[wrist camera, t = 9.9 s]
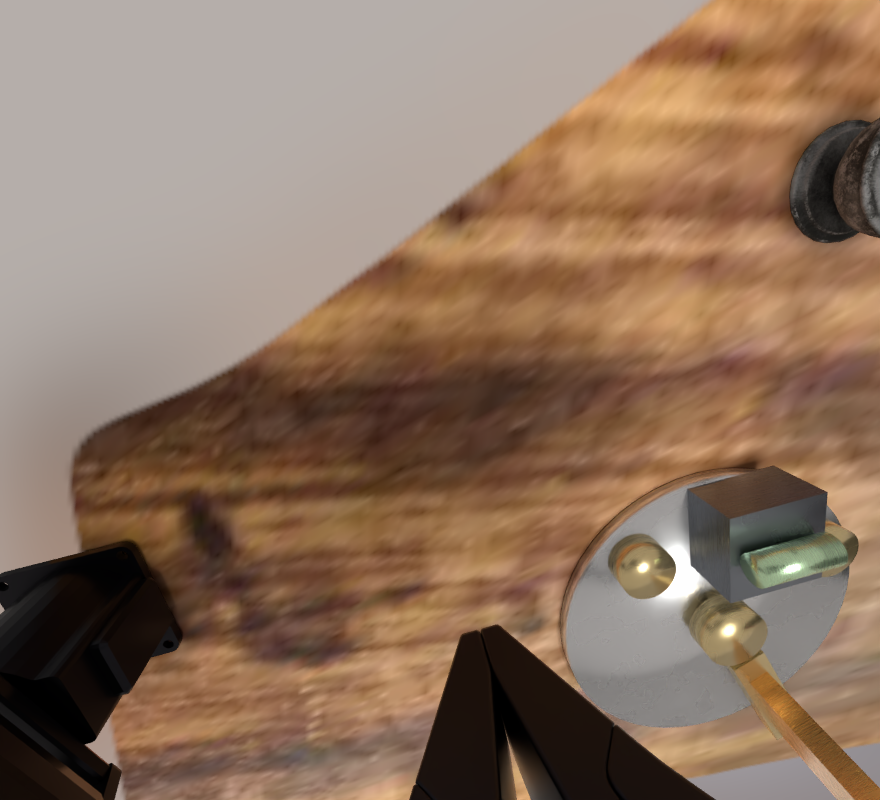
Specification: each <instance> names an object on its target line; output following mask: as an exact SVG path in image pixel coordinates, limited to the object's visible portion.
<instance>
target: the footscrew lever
mask: <svg viewBox="0 0 880 800" xmlns="http://www.w3.org/2000/svg"><path fill="white" fill-rule="evenodd" d="M689 631H690V634H691V636H692V637H693V639H694V640H695V641H696V642H697V643H698V645H699V646H700V647H701V648H702V649H703V650H704V652H705V653H706V654H707V655H708V656H709V657H710V659H711V660H712V661H713V662H715V663H716V664H719V665H722V666H727V667H728V669H729V671H730V672H731V674H732V675H733V677H734V678H735V680H736V682H737V683H738V685H739V686H740V688H741V690H742V691H743V693H744V694H745V696H746V698H747V699H748V701H749V702H750V704H751V705H752V707H753V709H754V710H755V712H756V713H757V715H758V717H759V718H760V720H761V721H762V723H763V724H764V725H765V726H766V727H767V728H768V730H769V731H770V732H771V733H772V734H773V736H774V737H775V738H776V739H777V740H779V739H780V738H782V737H783V738H784V739H785V740H786V741H787V742H788V743H789V744H790V746H791V747H792V748H793V749H794V750H795V751H796V753H797V754H798V755H799V756H800V757H801V758H802V760H803V761H804V762H805V763H806V764H807V765H808V766H809V768H810V769H811V770H812V771H813V772H814V773H815V775H816V776H817V777H818V778H819V779H820V780H821V782H822V783H823V784H824V785H825V786H826V787H827V788H828V789H829V791H830V792H831V793H832V794H833V795H834V796H835V798H837V800H880V788H879V787H878V786H877V785H876V784H875V783H874V782H873V781H872V780H871V779H870V778H869V777H868V776H867V775H866V774H865V773H864V772H863V770H861V768H860V767H859V766H858V765H857V764H856V763H855V762H854V761H853V760H852V759H851V758H850V757H849V756H848V755H847V754H846V753H845V752H844V751H843V750H842V749H841V748H840V747H839V746H838V745H837V744H836V742H835V741H834V740H833V739H832V738H831V737H830V736H829V735H828V734H827V733H826V732H825V731H824V730H823V729H822V728H821V727H820V726H819V725H818V724H817V723H816V722H815V721H814V720H813V719H812V718H811V717H810V716H809V715H808V713H807V712H806V711H805V710H804V709H803V708H802V707H801V706H800V705H799V704H798V703H797V702H796V701H795V700H794V699H793V698H792V697H791V696H790V695H789V694H788V693H787V691H786V690H785V688H784V686H783V685H782V683H781V681H780V679H779V678H778V676H777V674H776V672H775V671H774V669H773V667H772V665H771V664H770V662H769V660H768V659H767V657H766V655H765V653H764V652H763V651H762V650H761V648H762V646H763V645H764V643H765V641H766V638H767V633H768V628H767V624H766V622H765V621H764V620H763V619H762V618H761V617H760V616H759V615H758V614H757V613H756V612H755V611H754V610H753V609H751V608H750V607H749V606H748V605H747V604H746V603H745V602H744V601H743V600H741V601H737V602H734V603H730V602H729V601H728V600H727V599H726V598H724V597H723V596H722V595H721V594H720V595H716V596H714V597H711V598H709V599H708V600H706V601H704V602H703V603H702V604H701V605H700V606H699V607H698V608H697V609H696V610H695V611H694V613H693V615H692V617H691V619H690V623H689Z"/></svg>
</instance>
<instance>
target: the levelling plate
mask: <svg viewBox="0 0 880 800" xmlns="http://www.w3.org/2000/svg"><path fill="white" fill-rule="evenodd" d="M827 493H828V492H826V491H824V490H822V489H820V488H818V487H816V486H814V485H812V484H810V483H808V482H806V481H804V480H801V479H799V478H797V477H795V476H793V475H791V474H789V473H787V472H785V471H783V470H781V469H779V468H777V467H775V466H771V467H767V468H763V469H759V470H755V469H745V468H726V469H714V470H709V471H704V472H700V473H695V474H692V475H689V476H686V477H683V478H680V479H677V480H674V481H672V482H670V483H668V484H665V485H663V486H661V487H659V488H657V489H655V490H653V491H651V492H650V493H648V494H646V495H645V496H643V497H641V498H640V499H638V500H637V501H635V502H634V503H633V504H631V505H630V506H629V507H627V508H626V509H625V510H623V511H622V512H621V513H620V514H618V515H617V516H616V517H615V518H614V519H613V520H612V521H611V522H610V523H609V524H608V525H607V526H606V527H605V528H604V529H603V530H602V531H601V532H600V533H599V535H598V536H597V537H596V538H595V539H594V540H593V541H592V543H591V544H590V546H589V547H588V549H587V550H586V551H585V553H584V554H583V556H582V557H581V559H580V561H579V562H578V564H577V566H576V568H575V570H574V572H573V574H572V576H571V579H570V581H569V584H568V587H567V589H566V592H565V596H564V600H563V605H562V609H561V622H560V629H561V641H562V645H563V649H564V653H565V656H566V658H567V661H568V663H569V665H570V667H571V669H572V672H573V674H574V676H575V678H576V680H577V682H578V684H579V685H580V686H581V688H582V689H583V691H584V692H585V694H586V695H587V696H588V697H589V698H590V699H591V700H592V701H593V702H594V703H595V704H596V705H597V706H599V707H600V708H602V709H603V710H604V711H606V712H607V713H609V714H611V715H613V716H615V717H617V718H619V719H621V720H624V721H627V722H630V723H633V724H638V725H643V726H649V727H663V728H668V727H684V726H690V725H697V724H701V723H705V722H709V721H713V720H716V719H719V718H722V717H725V716H727V715H730V714H733V713H735V712H737V711H739V710H741V709H744V708H746V707H748V706H750V705H751V704H750V702H749V701H748V699H747V698H746V696H745V694H744V693H743V691H742V690H741V688H740V686H739V685H738V683H737V682H736V680H735V678H734V677H733V675H732V674H731V672H730V671H729V669H728V667H727V666H722V665H719V664H716V663H715V662H713V661H712V660H711V659H710V657H709V656H708V655H707V654H706V653H705V652H704V650H703V649H702V648H701V647H700V646H699V645H698V643H697V642H696V641H695V640H694V639H693V637H692V636H691V634H690V631H689V623H690V619H691V617H692V615H693V613H694V611H695V610H696V609H697V608H698V607H699V606H700V605H701V604H702V603H703V602H704V601H706V600H708V599H709V598H711V597H714V596H716V595H720V594H721V595H722V596H723V597H724V598H726V599H727V600H728V601H729V602H730V603H734V602H737V601H741V600H743V601H744V602H745V603H746V604H747V605H748V606H749V607H750V608H751V609H753V610H754V611H755V612H756V613H757V614H758V615H759V616H760V617H761V618H762V619H763V620H764V621H765V622H766V624H767V628H768V633H767V638H766V641H765V643H764V645H763V646H762V648H761V650H762V651H763V652H764V653H765V655H766V657H767V659H768V660H769V662H770V664H771V665H772V667H773V669H774V671H775V672H776V674H777V676H778V678H779V679H780V681H781V683H782V684H783V683H784V682H785V681H787V680H788V679H789V678H790V677H792V676H793V675H794V674H795V673H796V672H797V671H798V670H799V669H800V668H801V667H802V666H803V665H804V664H805V663H806V662H807V661H808V659H809V658H810V657H811V656H812V655H813V654H814V652H815V651H816V650H817V649H818V647H819V646H820V644H821V643H822V642H823V640H824V639H825V637H826V636H827V634H828V632H829V631H830V629H831V627H832V625H833V624H834V622H835V620H836V618H837V615H838V613H839V611H840V608H841V606H842V603H843V600H844V596H845V593H846V590H847V584H848V577H849V565H850V564H851V562H852V561H853V560H854V558H855V556H856V554H857V551H858V539H857V537H856V536H855V534H853V533H852V532H850V531H849V530H847V529H845V528H843V527H841V525H840V523H839V521H838V519H837V517H836V516H835V514H834V513H833V512H832V511H831V509H830V508H829V507H828V506H827Z"/></svg>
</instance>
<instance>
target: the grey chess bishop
mask: <svg viewBox="0 0 880 800" xmlns="http://www.w3.org/2000/svg"><path fill="white" fill-rule="evenodd" d="M790 205H791V213H792V215H793V218H794V221H795V223H796V225H797V226H798V228H799V229H800V230H801V231H802V233H803V234H804V235H806V236H807V237H809V238H811V239H812V240H814V241H818V242H823V243H831V242H840V241H843V240H845V239H848V238H850V237H853V236H854V235H856V234H857V233H859V232H861V233H864V234H867V235H869V236H873V237H878V238H880V118H878V119H877V120H876V121H874V122H873V123H870V122H866V121H862V120H852V121H845V122H842V123H840V124H837V125H835V126H832V127H830V128H828V129H827V130H826V131H824V132H823V133H822V134H820V135H819V136H817V137H816V139H815V140H814V141H813V142H812V143H811V144H810V145H809V146H808V148H807V149H806V150H805V152H804V154H803V155H802V157H801V159H800V160H799V162H798V164H797V166H796V169H795V172H794V175H793V178H792V182H791V190H790Z"/></svg>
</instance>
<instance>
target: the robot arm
mask: <svg viewBox="0 0 880 800" xmlns="http://www.w3.org/2000/svg"><path fill="white" fill-rule="evenodd" d="M121 551H124V552H126V553H127V554H128V555H124V554H123V553H122V552H121ZM5 583H7V584H8V585H7V584H5ZM0 603H1V605H2V607H3V608H4V610H5V611H4V612H3V613H1V614H0V800H114V799H115V795H116V792H117V788H118V784H119V780H120V777H121V773H122V771H121V770H120V769H119V768H118V767H116V766H115V765H114V764H112V763H110V764H107V763H106V762H105V761H104V760H103V759H101V758H100V757H99V756H98V755H97V754H95V753H94V752H93V751H92V750H91V749H89V748H88V747H87V746H86V745H85V744H88V743H91V742H93V741H95V740H96V738H97V736H98V735H99V733H100V731H101V730H102V728H103V727H104V725H105V723H106V722H107V720H108V718H109V717H110V715H111V713H112V712H113V710H114V708H115V707H116V705H117V704H118V702H119V700H120V699H121V697H122V695H124V694H128V693H129V692H130V691H131V690H132V688H133V686H134V685H135V683H136V681H137V680H138V678H139V676H140V675H141V673H142V671H143V670H144V668H145V666H146V665H147V663H148V661H149V660H150V658H151V657H155V656H158V655H162V654H166V653H169V652H173V651H175V650H176V649H177V648H178V647H179V645H180V643H181V641H182V635H181V633H180V631H179V629H178V627H177V625H176V623H175V621H174V619H173V616H172V614H171V612H170V610H169V608H168V606H167V604H166V602H165V600H164V598H163V596H162V594H161V592H160V590H159V588H158V586H157V584H156V582H155V581H154V580H153V578H152V576H151V574H150V572H149V570H148V568H147V566H146V564H145V562H144V560H143V558H142V556H141V554H140V552H139V550H138V548H137V547H136V546H135V545H134V544H133V543H130V542H121V543H117V544H113V545H109V546H105V547H101V548H97V549H93V550H89V551H86V552H82V553H78V554H74V555H70V556H66V557H62V558H58V559H54V560H50V561H46V562H42V563H38V564H34V565H31V566H27V567H23V568H19V569H15V570H11V571H7V572H4V573H1V574H0ZM168 640H170V641H172V642H170V641H168ZM505 730H506V732H505ZM506 734H507V736H506ZM507 737H508V740H507ZM508 741H509V744H510V746H511V749H512V752H513V755H514V757H515V760H516V762H517V765H518V767H519V770H520V773H521V775H522V778H523V780H524V783H525V785H526V788H527V790H528V793H529V795H530V798H531V800H715V799H714V798H713V797H711V796H710V795H708V794H707V793H705V792H704V791H702V790H701V789H700V788H698V787H697V786H695V785H694V784H692V783H691V782H690V781H688V780H687V779H685V778H684V777H683V776H681V775H680V774H679V773H677V772H676V771H674V770H673V769H672V768H670V767H669V766H667V765H666V764H665V763H663V762H662V761H661V760H659V759H658V758H657V757H656V756H654V755H653V754H652V753H651V752H649V751H648V750H647V749H646V748H644V747H643V746H642V745H641V744H639V743H638V742H637V741H636V740H634V739H633V738H632V737H631V736H630V735H629V734H627V733H626V732H625V731H624V730H623V729H622V728H620V727H619V726H618V725H615V724H614V723H613V722H612V721H611V720H610V719H609V718H608V717H607V716H605V715H604V714H603V713H602V712H601V711H600V710H598V709H597V708H596V707H595V706H594V705H592V704H591V703H590V702H589V701H588V700H587V699H585V698H584V697H583V696H582V695H581V694H580V693H578V692H577V691H576V690H575V689H574V688H573V687H571V686H570V685H569V684H568V683H567V682H565V681H564V680H563V679H562V678H561V677H560V676H558V675H557V674H556V673H555V672H554V671H553V670H551V669H550V668H549V667H548V666H547V665H545V664H544V663H543V662H542V661H541V660H540V659H538V658H537V657H536V656H535V655H534V654H533V653H531V652H530V651H529V650H528V649H527V648H526V647H524V646H523V645H522V644H521V643H520V642H518V641H517V640H516V639H515V638H514V637H513V636H511V635H510V634H509V633H508V632H507V631H506V630H504V629H503V628H502V627H501V626H499V625H493V626H489V627H485V628H482V629H481V633H480V631H478V630H475V631H471V632H467V633H464V634H462V635H461V637H460V639H459V642H458V646H457V649H456V652H455V655H454V659H453V662H452V665H451V668H450V672H449V675H448V678H447V681H446V684H445V688H444V691H443V694H442V697H441V701H440V704H439V707H438V710H437V714H436V717H435V720H434V723H433V726H432V730H431V733H430V736H429V739H428V743H427V746H426V749H425V752H424V756H423V759H422V762H421V765H420V769H419V772H418V775H417V778H416V785H414V786H413V789H412V793H411V796H410V799H409V800H517V798H516V791H515V784H514V777H513V770H512V764H511V757H510V751H509V745H508Z"/></svg>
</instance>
